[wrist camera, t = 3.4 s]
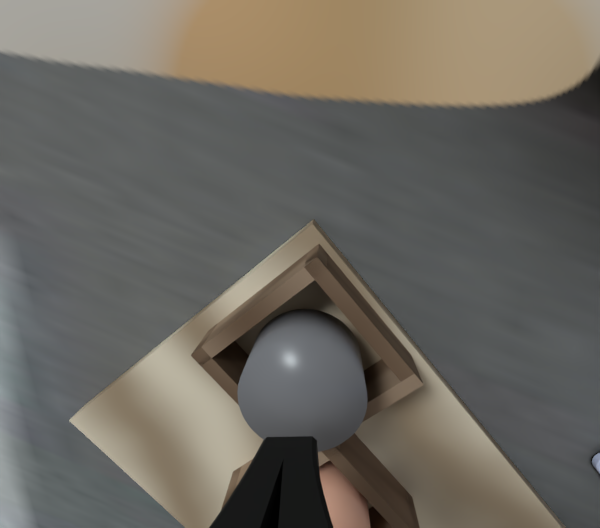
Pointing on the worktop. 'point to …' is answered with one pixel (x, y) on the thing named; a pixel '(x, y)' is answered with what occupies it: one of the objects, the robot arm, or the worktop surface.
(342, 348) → the charcoal button
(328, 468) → the terracotta button
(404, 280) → the worktop surface
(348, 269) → the button panel
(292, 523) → the robot arm
